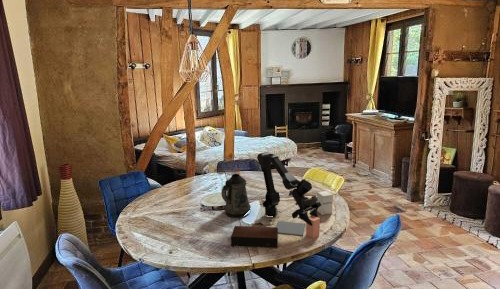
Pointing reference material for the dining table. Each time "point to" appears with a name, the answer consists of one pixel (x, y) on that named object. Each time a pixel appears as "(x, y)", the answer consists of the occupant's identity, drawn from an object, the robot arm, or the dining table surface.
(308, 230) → the brick-red block
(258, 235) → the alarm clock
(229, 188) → the beer stein
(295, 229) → the rubber mat
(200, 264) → the dining table surface
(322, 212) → the supplement box
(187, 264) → the dining table surface
